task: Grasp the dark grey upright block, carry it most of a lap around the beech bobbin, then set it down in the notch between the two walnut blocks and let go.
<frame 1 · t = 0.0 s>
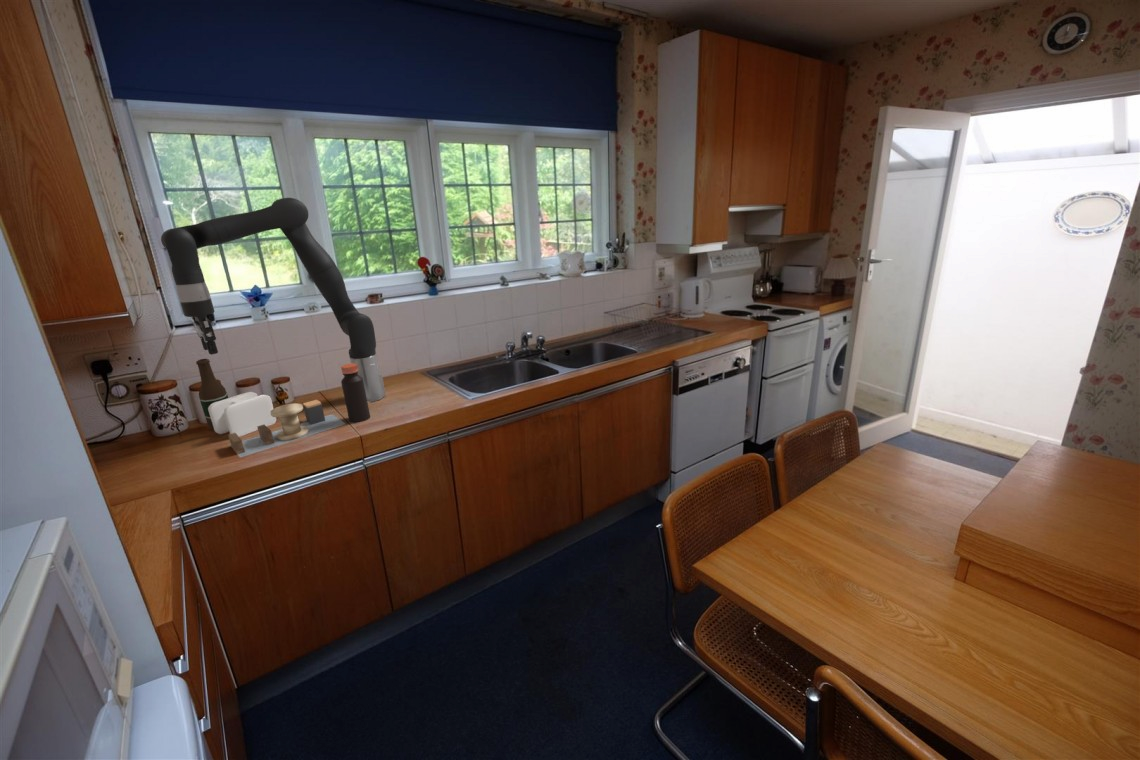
hand: (211, 351, 152), 29 cm above the kitchen counter, fingers open, 8 cm apart
bobbin: (293, 434, 159), resting on winding board
beer bottle: (222, 426, 172), on the kitchen counter
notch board: (253, 444, 154), resting on winding board
winding board: (290, 436, 160), on the kitchen counter
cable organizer: (247, 431, 167), on the kitchen counter
dark grey upright block: (316, 421, 169), point 1 cm above the kitchen counter, touching winding board
vinegar: (360, 421, 170), on the kitchen counter
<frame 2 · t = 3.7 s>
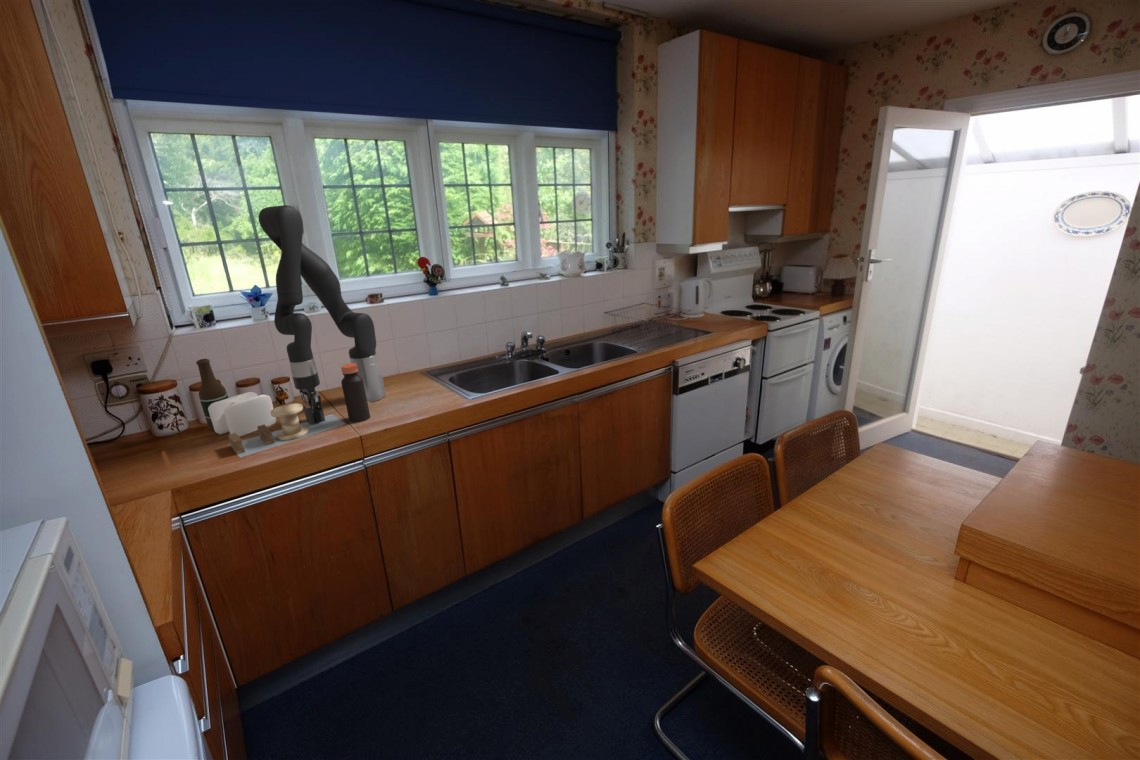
hand: (315, 420, 169), 1 cm above the kitchen counter, fingers closed on dark grey upright block, 4 cm apart
dark grey upright block: (316, 421, 169), point 1 cm above the kitchen counter, touching gripper, winding board
everything else where it was.
when the fingers open (3 cm above the kitchen counter, at t = 9.7 s): dark grey upright block drops 2 cm, resting on winding board.
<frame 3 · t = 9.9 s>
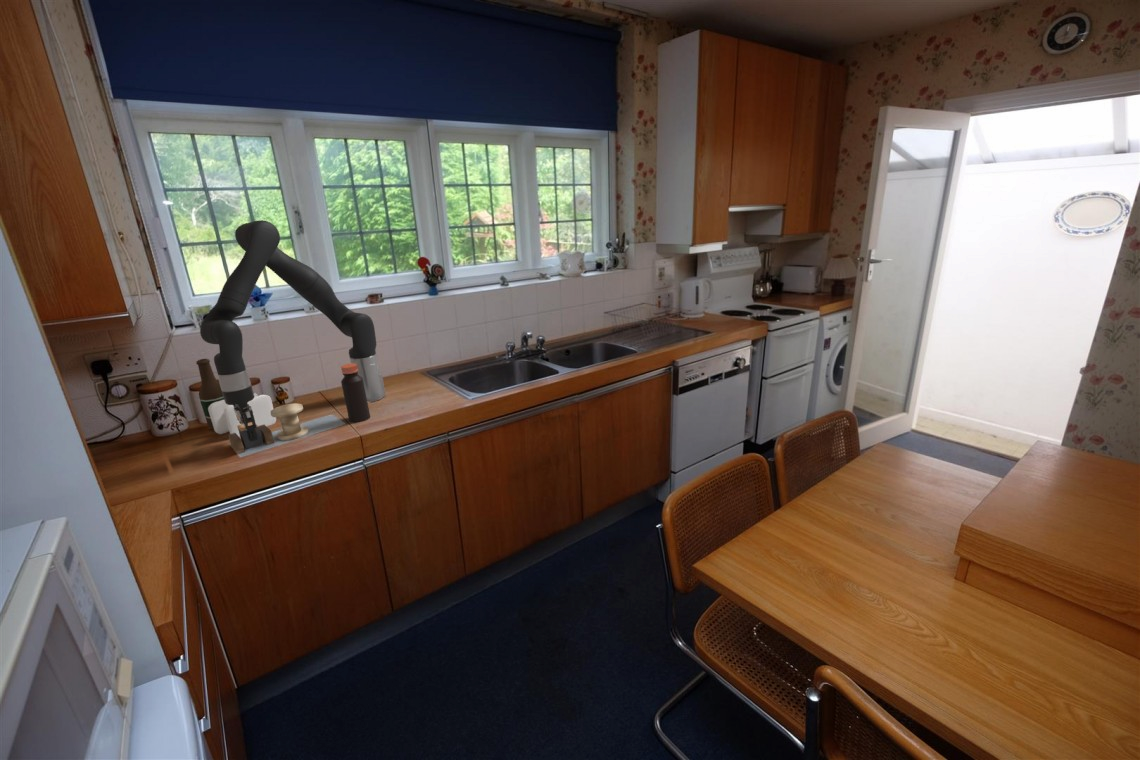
hand: (250, 437, 153), 4 cm above the kitchen counter, fingers open, 6 cm apart
dark grey upright block: (252, 444, 154), point 1 cm above the kitchen counter, touching winding board
everything else where it was.
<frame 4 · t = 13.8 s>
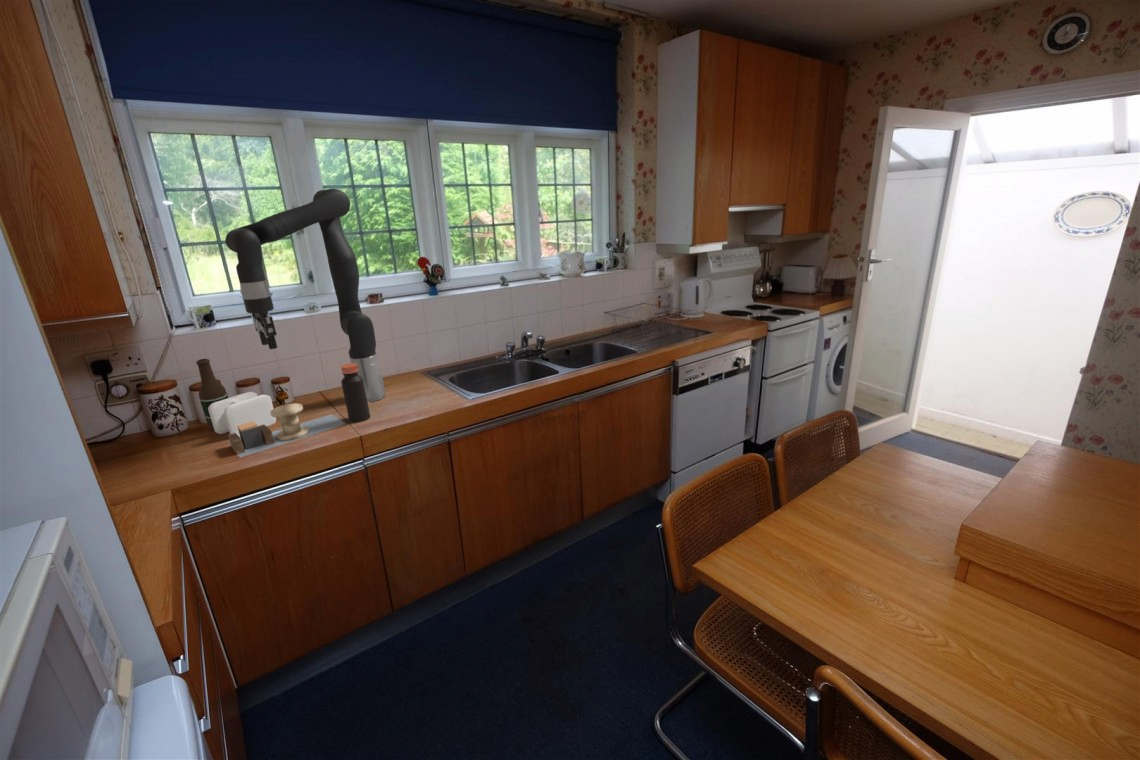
hand: (269, 346, 159), 28 cm above the kitchen counter, fingers open, 8 cm apart
nothing on the kitchen counter moved.
at the end: dark grey upright block inside the target area on the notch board (0.0 cm from its centre), point 0.0 cm above the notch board's base; the gripper is holding nothing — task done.
